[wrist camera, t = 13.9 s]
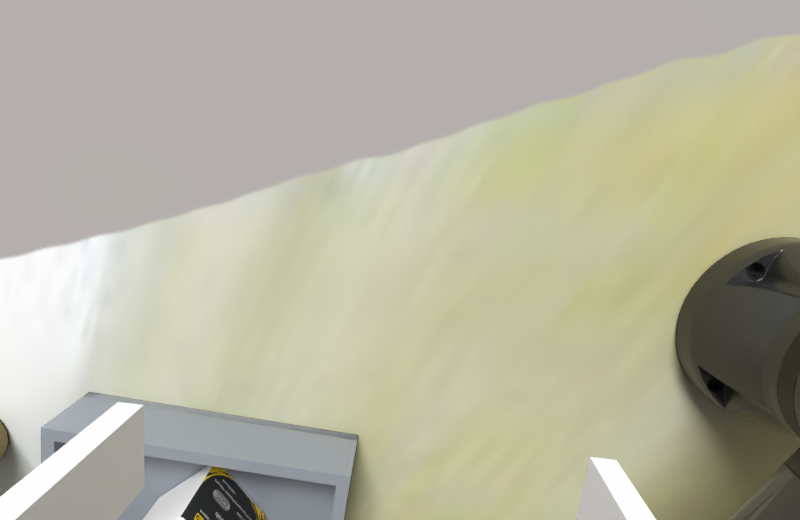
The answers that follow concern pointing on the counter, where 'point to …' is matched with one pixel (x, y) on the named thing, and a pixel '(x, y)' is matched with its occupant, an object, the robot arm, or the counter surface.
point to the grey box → (227, 456)
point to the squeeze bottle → (3, 440)
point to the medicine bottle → (206, 499)
